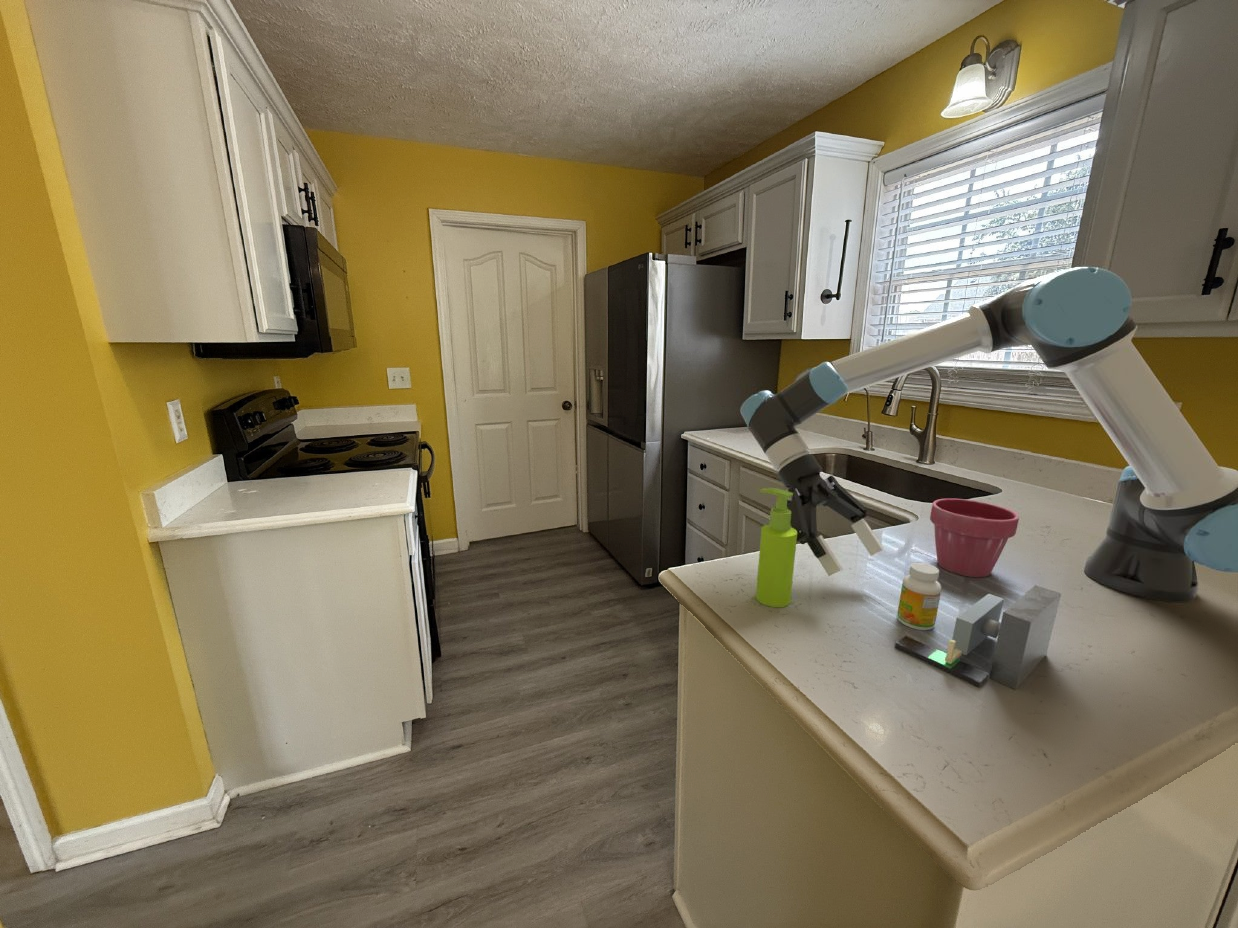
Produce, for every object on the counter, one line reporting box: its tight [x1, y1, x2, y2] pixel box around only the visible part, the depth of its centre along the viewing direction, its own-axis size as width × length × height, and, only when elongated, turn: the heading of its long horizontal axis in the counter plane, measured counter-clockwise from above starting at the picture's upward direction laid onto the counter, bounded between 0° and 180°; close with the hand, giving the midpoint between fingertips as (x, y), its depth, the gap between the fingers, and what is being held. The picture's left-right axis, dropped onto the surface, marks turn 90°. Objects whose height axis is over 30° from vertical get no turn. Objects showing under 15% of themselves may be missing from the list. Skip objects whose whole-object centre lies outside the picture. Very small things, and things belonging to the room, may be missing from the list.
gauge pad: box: [945, 593, 1004, 664], centre depth 73 cm, size 4×16×5 cm, turn 126°
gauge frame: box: [894, 584, 1062, 690], centre depth 73 cm, size 14×16×10 cm
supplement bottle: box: [896, 562, 942, 631], centre depth 81 cm, size 5×5×10 cm
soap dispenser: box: [755, 487, 797, 608], centre depth 87 cm, size 6×7×20 cm
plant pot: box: [929, 498, 1020, 578], centre depth 101 cm, size 14×14×13 cm
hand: (857, 562), depth 89 cm, fingers open, 13 cm apart
